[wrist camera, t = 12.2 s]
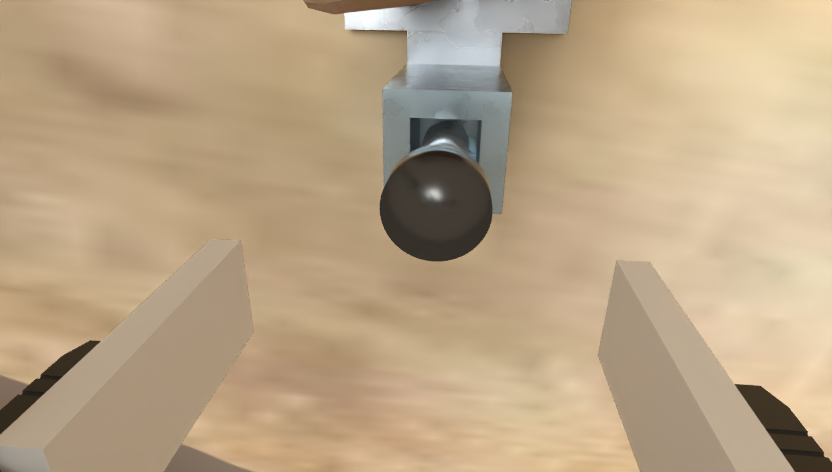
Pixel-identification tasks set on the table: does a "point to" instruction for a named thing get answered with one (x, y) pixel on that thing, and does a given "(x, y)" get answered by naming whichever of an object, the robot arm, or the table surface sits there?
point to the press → (456, 74)
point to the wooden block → (358, 5)
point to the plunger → (437, 197)
